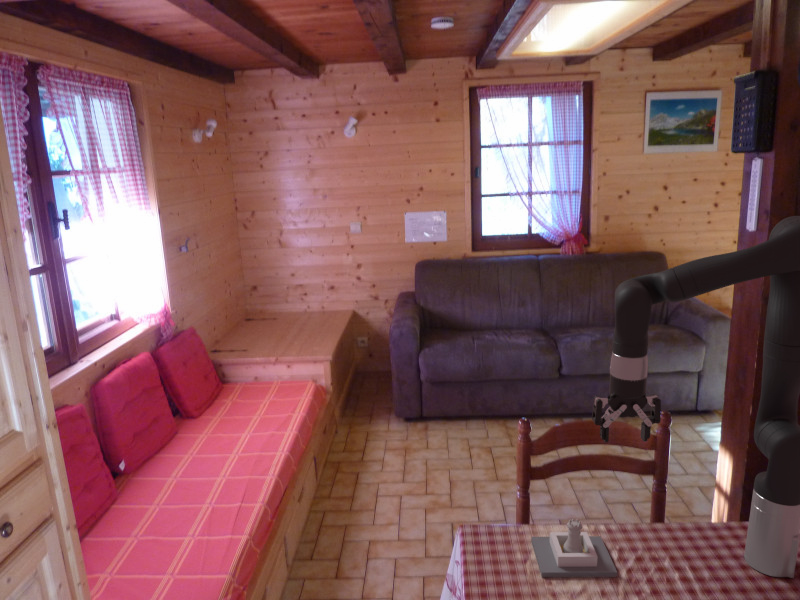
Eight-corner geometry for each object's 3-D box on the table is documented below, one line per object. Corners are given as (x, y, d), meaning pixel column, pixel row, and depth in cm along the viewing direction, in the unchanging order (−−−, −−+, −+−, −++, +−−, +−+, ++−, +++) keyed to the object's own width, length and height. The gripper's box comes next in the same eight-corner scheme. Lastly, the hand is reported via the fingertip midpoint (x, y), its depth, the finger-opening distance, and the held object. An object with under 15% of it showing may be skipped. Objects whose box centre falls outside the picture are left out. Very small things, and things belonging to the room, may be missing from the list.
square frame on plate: (600, 540, 138) (601, 526, 137) (617, 576, 127) (618, 562, 126) (531, 541, 139) (531, 527, 138) (541, 577, 127) (542, 562, 126)
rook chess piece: (584, 561, 130) (586, 529, 128) (563, 558, 131) (564, 527, 129) (582, 547, 134) (584, 517, 132) (562, 545, 135) (563, 515, 133)
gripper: (600, 380, 125) (597, 449, 129) (669, 377, 124) (663, 447, 128) (590, 367, 132) (587, 433, 136) (655, 365, 132) (650, 431, 136)
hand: (624, 440), depth 132 cm, fingers open, 8 cm apart
